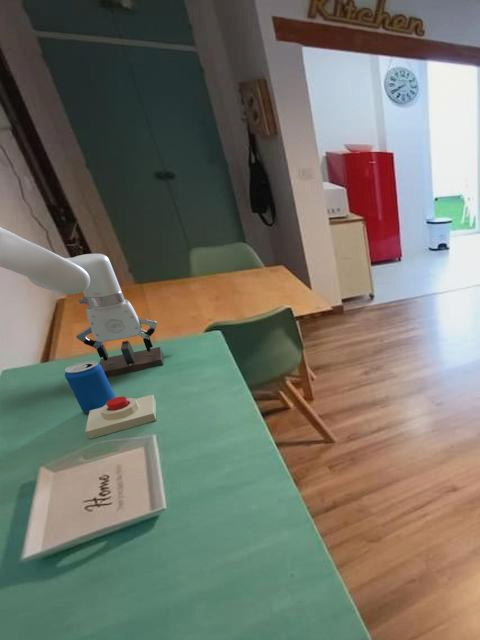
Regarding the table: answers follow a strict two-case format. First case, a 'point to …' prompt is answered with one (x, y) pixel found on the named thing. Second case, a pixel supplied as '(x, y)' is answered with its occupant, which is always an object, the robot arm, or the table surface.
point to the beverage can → (89, 385)
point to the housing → (121, 417)
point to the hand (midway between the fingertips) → (128, 354)
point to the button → (117, 403)
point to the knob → (127, 351)
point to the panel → (141, 361)
